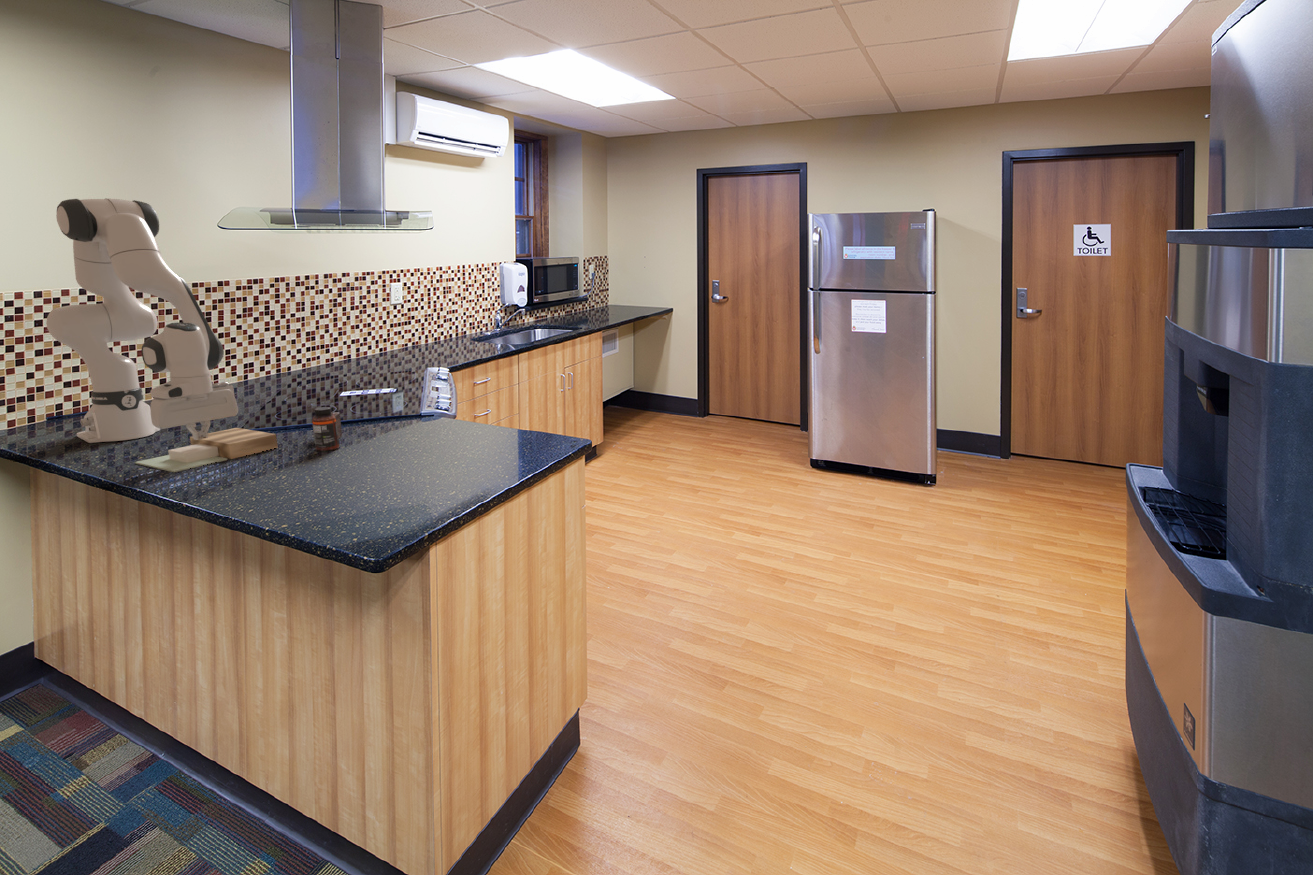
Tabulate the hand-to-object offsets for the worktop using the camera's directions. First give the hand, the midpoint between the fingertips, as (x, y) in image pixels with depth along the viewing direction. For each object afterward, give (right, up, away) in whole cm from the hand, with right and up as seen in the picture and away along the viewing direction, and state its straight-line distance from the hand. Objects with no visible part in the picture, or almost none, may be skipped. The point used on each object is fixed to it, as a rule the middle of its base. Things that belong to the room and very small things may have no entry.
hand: (200, 438), depth 187 cm
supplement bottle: (+29, -3, +9) cm, 31 cm away
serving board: (+4, -3, +8) cm, 10 cm away
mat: (-3, -6, -4) cm, 7 cm away
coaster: (-1, -5, -1) cm, 5 cm away
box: (+25, 0, +20) cm, 32 cm away
